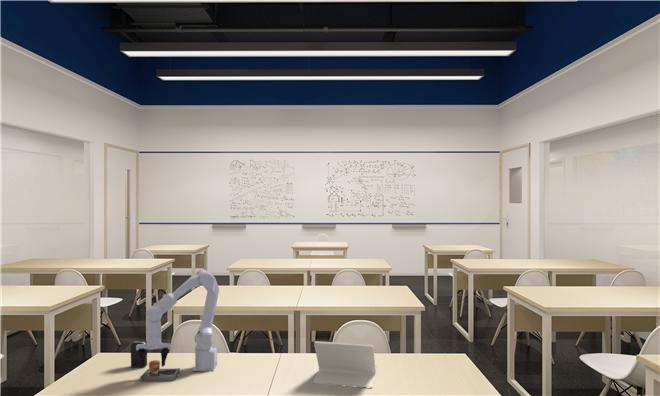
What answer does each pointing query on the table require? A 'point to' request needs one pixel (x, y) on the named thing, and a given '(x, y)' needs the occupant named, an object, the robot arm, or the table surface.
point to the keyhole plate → (160, 375)
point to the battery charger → (136, 354)
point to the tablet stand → (345, 364)
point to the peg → (154, 366)
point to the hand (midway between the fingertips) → (154, 365)
